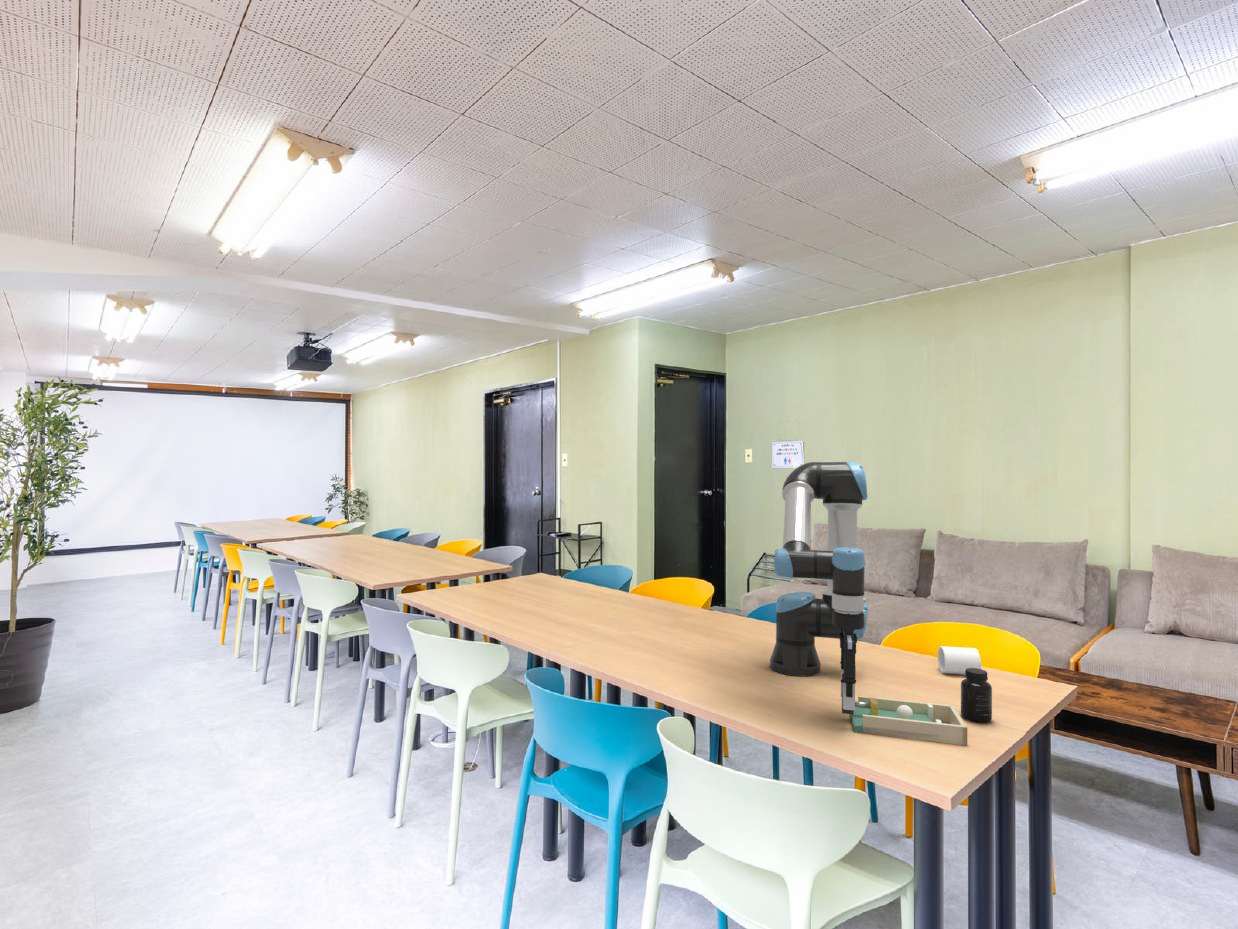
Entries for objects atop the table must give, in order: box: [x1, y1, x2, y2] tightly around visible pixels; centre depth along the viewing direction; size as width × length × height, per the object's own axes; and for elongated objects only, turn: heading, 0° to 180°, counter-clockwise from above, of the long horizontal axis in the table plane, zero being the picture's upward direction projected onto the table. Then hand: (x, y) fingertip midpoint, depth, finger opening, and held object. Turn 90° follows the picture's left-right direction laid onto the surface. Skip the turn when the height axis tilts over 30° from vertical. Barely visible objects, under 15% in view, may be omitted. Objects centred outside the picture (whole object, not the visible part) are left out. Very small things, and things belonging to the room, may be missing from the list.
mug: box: [937, 645, 982, 676], centre depth 194 cm, size 12×10×8 cm
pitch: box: [850, 695, 968, 746], centre depth 151 cm, size 24×14×4 cm, turn 74°
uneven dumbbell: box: [841, 673, 878, 716], centre depth 154 cm, size 8×4×9 cm, turn 73°
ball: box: [897, 705, 913, 720], centre depth 151 cm, size 4×4×4 cm
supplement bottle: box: [960, 668, 993, 724], centre depth 157 cm, size 7×7×12 cm
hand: (847, 703), depth 155 cm, fingers open, 8 cm apart
